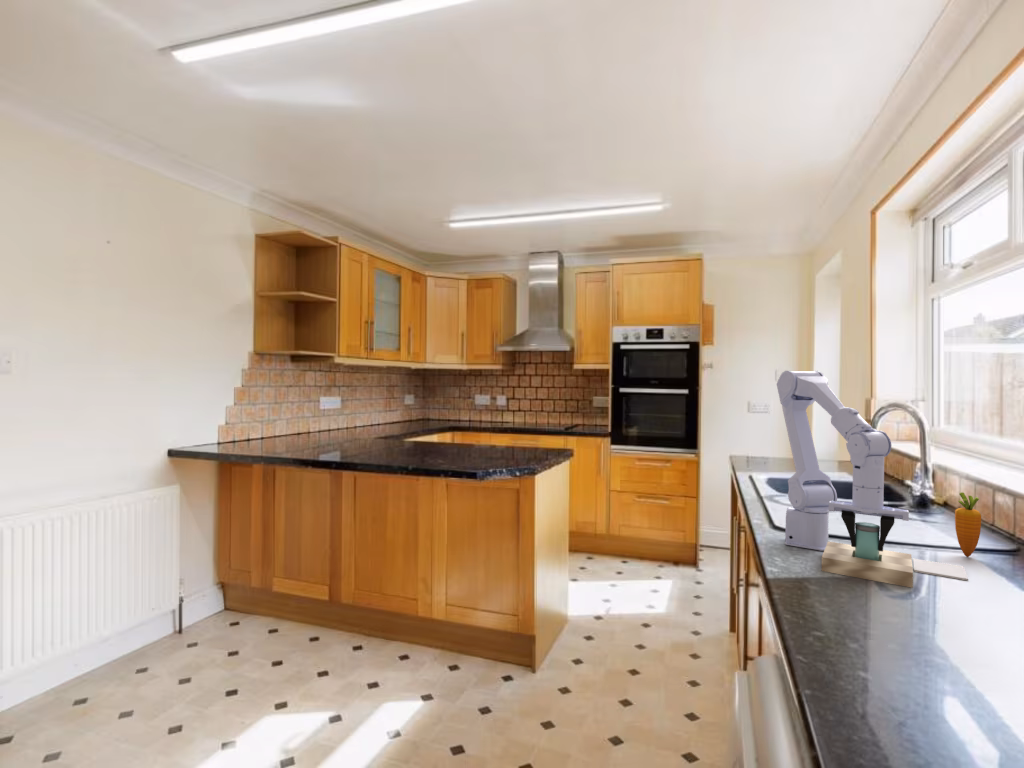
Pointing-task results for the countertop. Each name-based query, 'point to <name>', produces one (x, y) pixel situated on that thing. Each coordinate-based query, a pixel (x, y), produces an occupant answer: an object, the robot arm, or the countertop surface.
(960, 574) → the mat
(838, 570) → the tan board with hole
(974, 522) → the carrot
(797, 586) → the countertop surface
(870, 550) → the plug
